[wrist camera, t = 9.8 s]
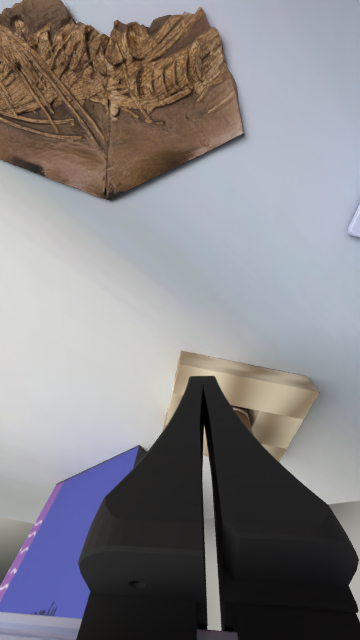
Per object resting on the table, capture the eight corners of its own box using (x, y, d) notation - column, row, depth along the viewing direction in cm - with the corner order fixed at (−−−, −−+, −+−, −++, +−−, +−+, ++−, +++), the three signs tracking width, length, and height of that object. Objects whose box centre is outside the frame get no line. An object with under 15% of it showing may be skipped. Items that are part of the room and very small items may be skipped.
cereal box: (78, 499, 34) (-137, 986, 12) (57, 483, 33) (-229, 997, 11) (160, 465, 30) (58, 1155, 7) (139, 445, 28) (-63, 1213, 6)
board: (306, 376, 22) (319, 392, 20) (267, 449, 27) (274, 469, 25) (181, 350, 22) (179, 364, 20) (163, 428, 27) (160, 446, 24)
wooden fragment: (262, 19, 13) (268, 1, 12) (230, 212, 17) (232, 211, 16) (-122, -7, 14) (-147, -25, 13) (-63, 185, 18) (-78, 182, 17)
